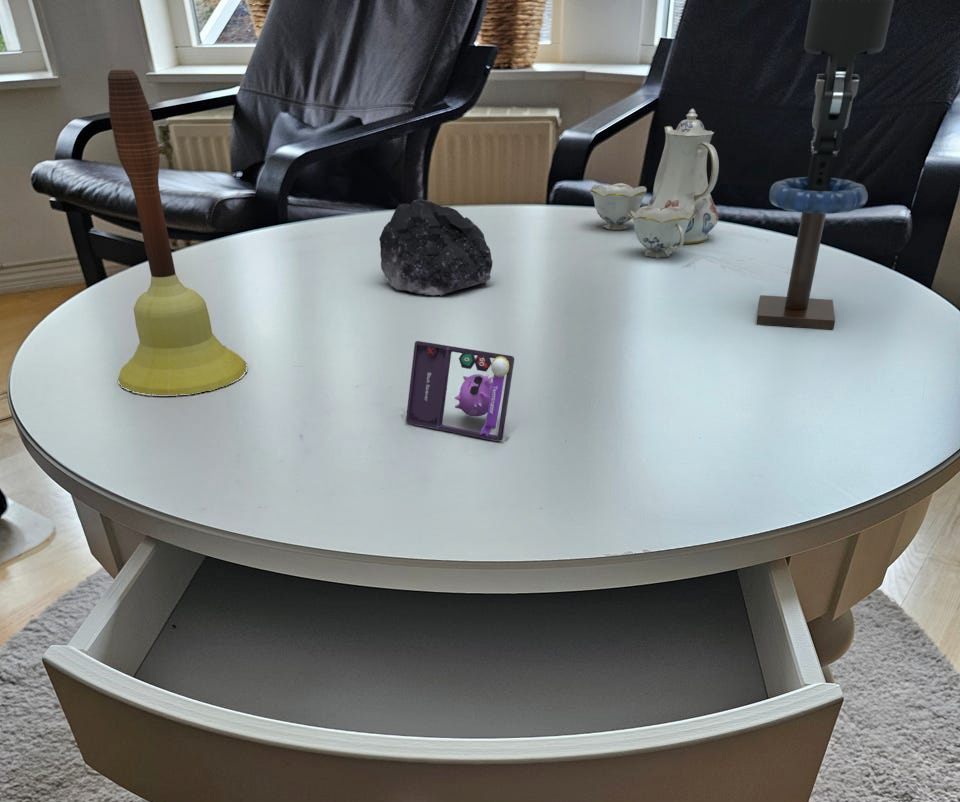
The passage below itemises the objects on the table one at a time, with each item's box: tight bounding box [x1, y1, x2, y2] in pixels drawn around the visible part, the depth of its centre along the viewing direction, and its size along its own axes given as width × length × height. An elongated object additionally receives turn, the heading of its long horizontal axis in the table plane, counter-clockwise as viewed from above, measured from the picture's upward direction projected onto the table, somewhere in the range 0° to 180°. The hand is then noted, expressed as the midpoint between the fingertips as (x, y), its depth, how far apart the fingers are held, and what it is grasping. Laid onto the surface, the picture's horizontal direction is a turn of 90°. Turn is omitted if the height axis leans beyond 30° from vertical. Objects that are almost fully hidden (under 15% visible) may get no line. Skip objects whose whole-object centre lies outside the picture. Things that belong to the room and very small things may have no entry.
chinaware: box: [589, 108, 720, 259], centre depth 127 cm, size 28×17×17 cm, turn 17°
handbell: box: [107, 69, 247, 395], centre depth 81 cm, size 12×12×25 cm
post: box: [755, 212, 836, 331], centre depth 97 cm, size 8×8×11 cm
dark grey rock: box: [379, 199, 494, 296], centre depth 111 cm, size 13×14×10 cm
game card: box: [405, 340, 515, 442], centre depth 76 cm, size 7×5×9 cm
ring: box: [768, 176, 869, 215], centre depth 93 cm, size 10×10×2 cm
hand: (816, 192), depth 97 cm, fingers closed on ring, 2 cm apart
